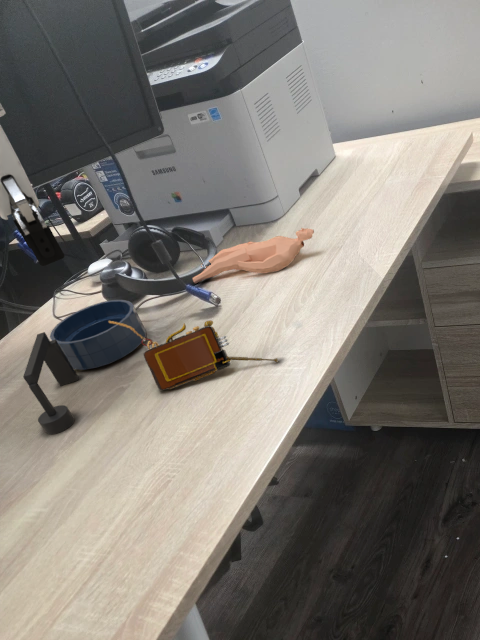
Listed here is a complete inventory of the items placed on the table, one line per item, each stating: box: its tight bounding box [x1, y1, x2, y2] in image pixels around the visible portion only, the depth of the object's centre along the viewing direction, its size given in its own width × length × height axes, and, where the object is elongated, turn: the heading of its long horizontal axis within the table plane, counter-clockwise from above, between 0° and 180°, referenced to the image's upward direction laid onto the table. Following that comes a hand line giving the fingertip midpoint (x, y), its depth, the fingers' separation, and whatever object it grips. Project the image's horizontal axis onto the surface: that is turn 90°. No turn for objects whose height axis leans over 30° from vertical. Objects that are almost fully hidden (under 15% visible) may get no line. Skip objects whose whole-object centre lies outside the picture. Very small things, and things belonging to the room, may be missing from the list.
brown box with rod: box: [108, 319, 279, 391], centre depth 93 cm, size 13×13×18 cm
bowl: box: [49, 299, 147, 371], centre depth 110 cm, size 14×14×6 cm
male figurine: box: [192, 227, 315, 284], centre depth 124 cm, size 11×5×25 cm
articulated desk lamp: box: [23, 331, 79, 435], centre depth 97 cm, size 16×4×9 cm, turn 16°
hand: (46, 253), depth 87 cm, fingers open, 9 cm apart
